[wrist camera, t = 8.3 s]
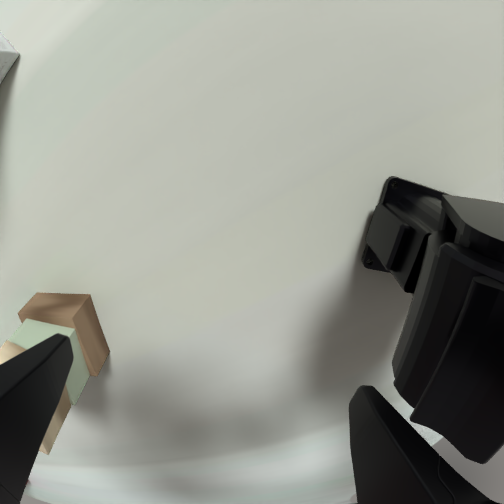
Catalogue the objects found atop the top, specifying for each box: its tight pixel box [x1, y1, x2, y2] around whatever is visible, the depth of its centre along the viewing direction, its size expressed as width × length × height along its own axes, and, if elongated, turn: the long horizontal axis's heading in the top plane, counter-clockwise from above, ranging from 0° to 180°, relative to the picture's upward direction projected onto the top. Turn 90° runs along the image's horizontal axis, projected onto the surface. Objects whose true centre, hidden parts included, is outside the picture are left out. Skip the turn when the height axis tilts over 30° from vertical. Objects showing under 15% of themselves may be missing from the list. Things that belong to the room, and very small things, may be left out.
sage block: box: [8, 318, 90, 405], centre depth 20 cm, size 5×5×4 cm
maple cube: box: [0, 340, 71, 455], centre depth 16 cm, size 5×5×5 cm
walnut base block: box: [18, 293, 110, 376], centre depth 23 cm, size 6×6×4 cm
